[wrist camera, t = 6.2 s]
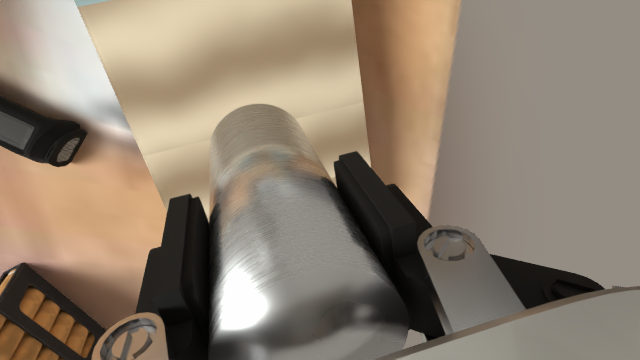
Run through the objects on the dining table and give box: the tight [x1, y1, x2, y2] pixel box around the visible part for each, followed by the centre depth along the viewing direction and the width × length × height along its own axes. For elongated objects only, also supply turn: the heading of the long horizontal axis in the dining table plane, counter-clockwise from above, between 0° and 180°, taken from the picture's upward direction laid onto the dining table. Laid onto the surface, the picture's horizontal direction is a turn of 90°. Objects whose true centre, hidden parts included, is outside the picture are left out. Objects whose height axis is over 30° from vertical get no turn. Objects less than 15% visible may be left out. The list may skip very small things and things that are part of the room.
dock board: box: [74, 0, 371, 221], centre depth 27 cm, size 28×16×4 cm, turn 10°
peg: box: [208, 104, 409, 360], centre depth 12 cm, size 4×4×10 cm
